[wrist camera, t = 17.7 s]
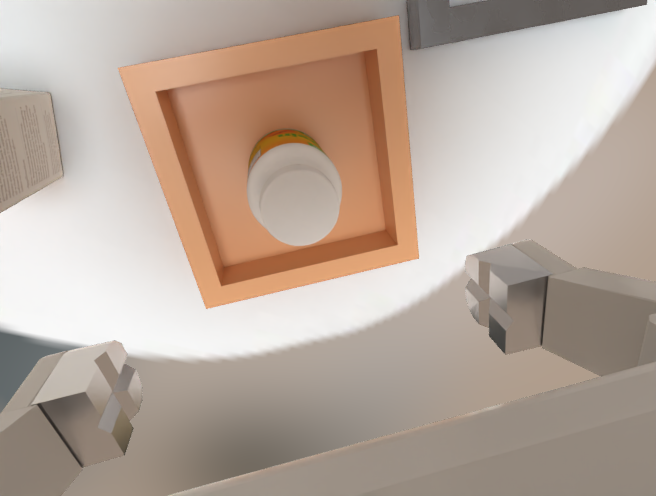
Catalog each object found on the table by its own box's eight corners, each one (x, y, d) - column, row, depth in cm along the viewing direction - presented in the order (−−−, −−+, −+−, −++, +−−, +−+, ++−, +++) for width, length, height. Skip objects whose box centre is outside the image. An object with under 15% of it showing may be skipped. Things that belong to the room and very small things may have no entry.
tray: (137, 67, 25) (117, 67, 22) (379, 22, 27) (398, 15, 23) (211, 282, 32) (206, 308, 29) (401, 237, 33) (418, 258, 30)
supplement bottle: (335, 143, 28) (371, 177, 20) (308, 211, 30) (330, 270, 21) (262, 114, 27) (266, 137, 18) (238, 188, 29) (231, 242, 20)
